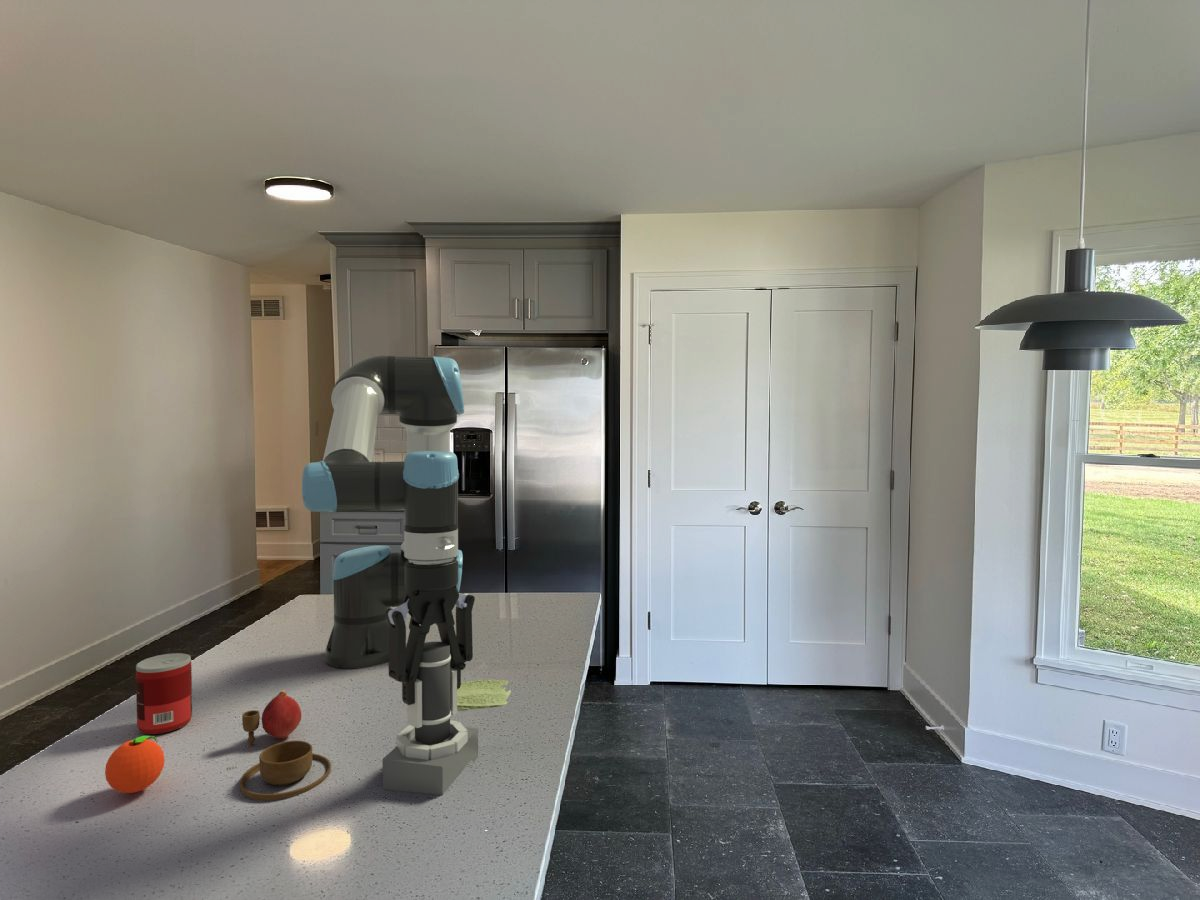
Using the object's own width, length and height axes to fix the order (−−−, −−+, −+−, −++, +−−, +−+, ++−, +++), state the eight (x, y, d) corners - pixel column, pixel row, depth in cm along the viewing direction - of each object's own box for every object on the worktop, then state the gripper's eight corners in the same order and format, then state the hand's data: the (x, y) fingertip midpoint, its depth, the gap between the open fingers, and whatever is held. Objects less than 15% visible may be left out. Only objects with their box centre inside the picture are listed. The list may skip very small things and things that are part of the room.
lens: (427, 747, 97) (426, 655, 96) (407, 735, 100) (406, 647, 100) (458, 735, 101) (457, 647, 100) (438, 724, 104) (437, 638, 104)
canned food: (202, 718, 120) (201, 655, 119) (160, 738, 112) (158, 671, 112) (170, 712, 122) (168, 650, 122) (126, 731, 115) (124, 665, 114)
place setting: (205, 816, 91) (204, 773, 91) (239, 747, 111) (239, 711, 110) (346, 797, 96) (345, 756, 96) (355, 734, 115) (355, 699, 115)
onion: (263, 750, 108) (262, 700, 108) (260, 736, 113) (260, 687, 113) (303, 742, 111) (303, 693, 111) (299, 728, 116) (299, 681, 116)
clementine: (134, 772, 101) (133, 725, 101) (180, 773, 101) (179, 726, 101) (92, 802, 93) (91, 751, 93) (143, 804, 93) (141, 752, 93)
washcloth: (515, 718, 121) (515, 700, 121) (411, 726, 118) (411, 707, 118) (511, 690, 134) (511, 674, 134) (417, 696, 131) (417, 679, 131)
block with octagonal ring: (444, 803, 94) (443, 756, 94) (381, 794, 96) (381, 748, 96) (479, 760, 105) (479, 719, 105) (422, 753, 108) (422, 713, 107)
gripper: (387, 573, 90) (388, 748, 91) (498, 553, 103) (498, 706, 104) (359, 564, 95) (360, 730, 96) (468, 547, 108) (469, 693, 110)
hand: (432, 717), depth 100 cm, fingers closed on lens, 5 cm apart
